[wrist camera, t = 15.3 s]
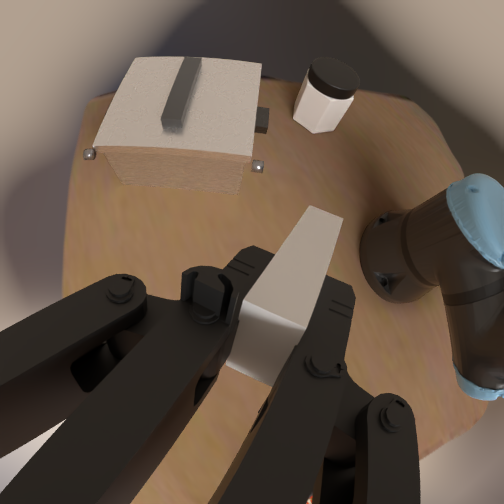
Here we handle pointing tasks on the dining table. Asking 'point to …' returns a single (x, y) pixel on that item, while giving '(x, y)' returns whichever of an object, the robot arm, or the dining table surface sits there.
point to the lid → (184, 109)
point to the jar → (325, 94)
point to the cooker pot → (183, 167)
